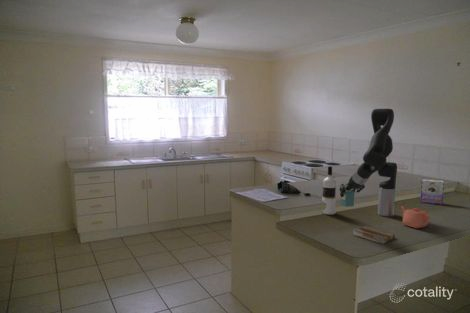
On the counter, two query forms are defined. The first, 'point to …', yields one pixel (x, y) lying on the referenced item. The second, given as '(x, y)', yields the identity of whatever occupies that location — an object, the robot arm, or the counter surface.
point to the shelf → (373, 234)
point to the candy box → (432, 191)
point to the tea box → (348, 198)
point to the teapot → (415, 217)
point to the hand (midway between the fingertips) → (345, 195)
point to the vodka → (329, 193)
